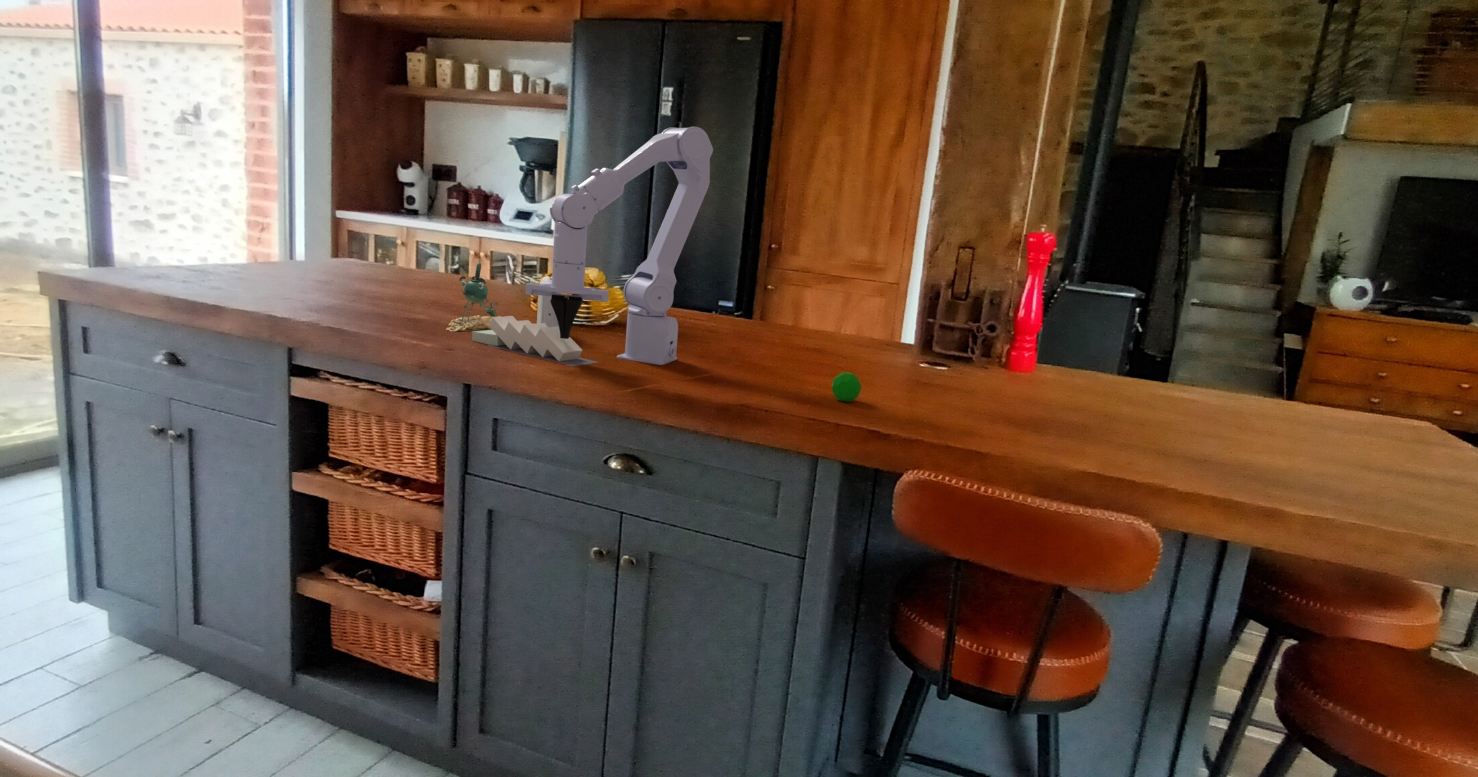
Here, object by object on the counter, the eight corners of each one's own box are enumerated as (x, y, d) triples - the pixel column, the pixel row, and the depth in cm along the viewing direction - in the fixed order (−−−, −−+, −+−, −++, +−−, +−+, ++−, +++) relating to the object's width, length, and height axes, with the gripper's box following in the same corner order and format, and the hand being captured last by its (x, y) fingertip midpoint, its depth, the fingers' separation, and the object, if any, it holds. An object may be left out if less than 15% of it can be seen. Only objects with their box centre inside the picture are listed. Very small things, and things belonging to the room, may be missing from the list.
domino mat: (599, 363, 159) (599, 362, 159) (572, 367, 153) (572, 366, 153) (514, 343, 170) (514, 342, 170) (486, 346, 164) (486, 345, 164)
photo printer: (560, 340, 179) (563, 280, 177) (539, 339, 178) (541, 278, 175) (555, 331, 189) (558, 274, 186) (535, 330, 187) (537, 273, 185)
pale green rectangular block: (517, 333, 168) (492, 329, 172) (497, 335, 164) (472, 331, 168) (517, 343, 168) (492, 339, 172) (497, 345, 164) (472, 341, 168)
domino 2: (550, 342, 164) (528, 320, 166) (531, 345, 159) (508, 321, 162) (546, 351, 164) (524, 328, 167) (527, 353, 160) (504, 330, 163)
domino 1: (534, 338, 166) (512, 315, 168) (514, 341, 162) (492, 317, 164) (530, 346, 167) (508, 323, 169) (510, 349, 162) (488, 325, 165)
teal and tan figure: (524, 327, 191) (523, 260, 187) (466, 345, 176) (463, 272, 171) (489, 320, 195) (487, 254, 190) (430, 337, 180) (426, 266, 175)
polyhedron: (836, 403, 146) (839, 375, 145) (825, 396, 150) (829, 369, 149) (863, 404, 147) (867, 377, 146) (852, 397, 152) (856, 371, 151)
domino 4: (582, 350, 159) (559, 326, 162) (563, 352, 155) (539, 328, 158) (578, 358, 160) (555, 334, 163) (558, 361, 156) (535, 336, 158)
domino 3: (566, 346, 161) (544, 322, 164) (547, 348, 157) (524, 324, 160) (562, 354, 162) (539, 331, 165) (542, 357, 158) (519, 333, 161)
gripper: (612, 264, 159) (607, 337, 162) (532, 257, 159) (529, 330, 161) (608, 267, 153) (603, 344, 155) (524, 259, 152) (521, 336, 155)
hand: (564, 337), depth 158 cm, fingers closed
